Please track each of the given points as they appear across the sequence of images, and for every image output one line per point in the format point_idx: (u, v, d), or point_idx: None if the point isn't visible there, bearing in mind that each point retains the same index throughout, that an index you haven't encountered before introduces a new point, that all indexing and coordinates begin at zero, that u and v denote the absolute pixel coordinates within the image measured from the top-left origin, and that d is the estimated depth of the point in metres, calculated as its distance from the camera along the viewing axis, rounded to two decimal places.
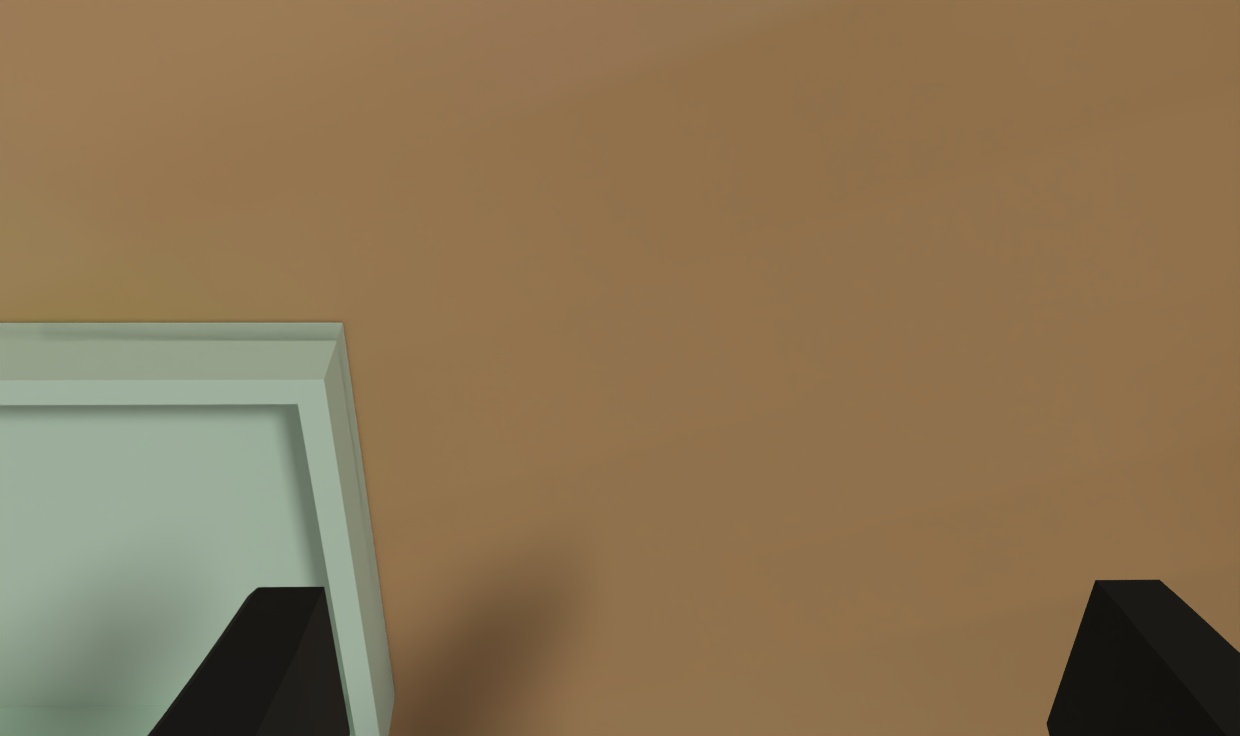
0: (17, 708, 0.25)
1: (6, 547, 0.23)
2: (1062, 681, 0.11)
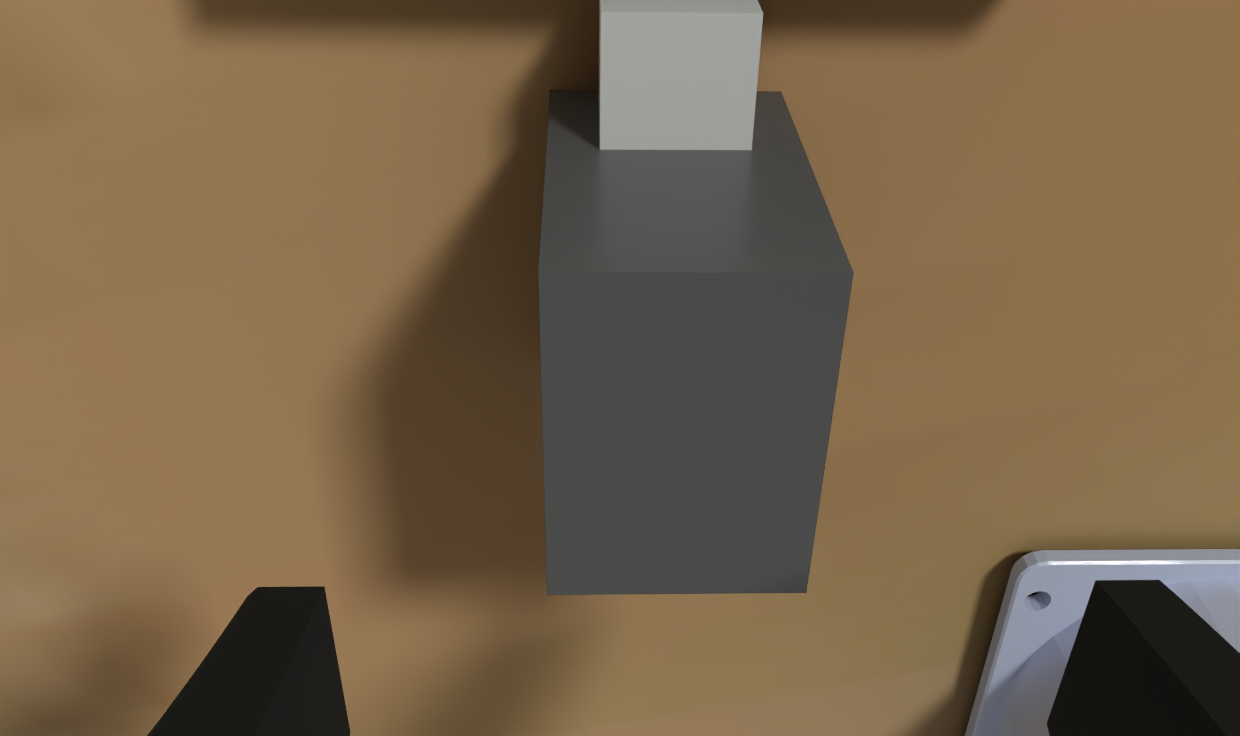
0: None
1: None
2: (1061, 682, 0.11)
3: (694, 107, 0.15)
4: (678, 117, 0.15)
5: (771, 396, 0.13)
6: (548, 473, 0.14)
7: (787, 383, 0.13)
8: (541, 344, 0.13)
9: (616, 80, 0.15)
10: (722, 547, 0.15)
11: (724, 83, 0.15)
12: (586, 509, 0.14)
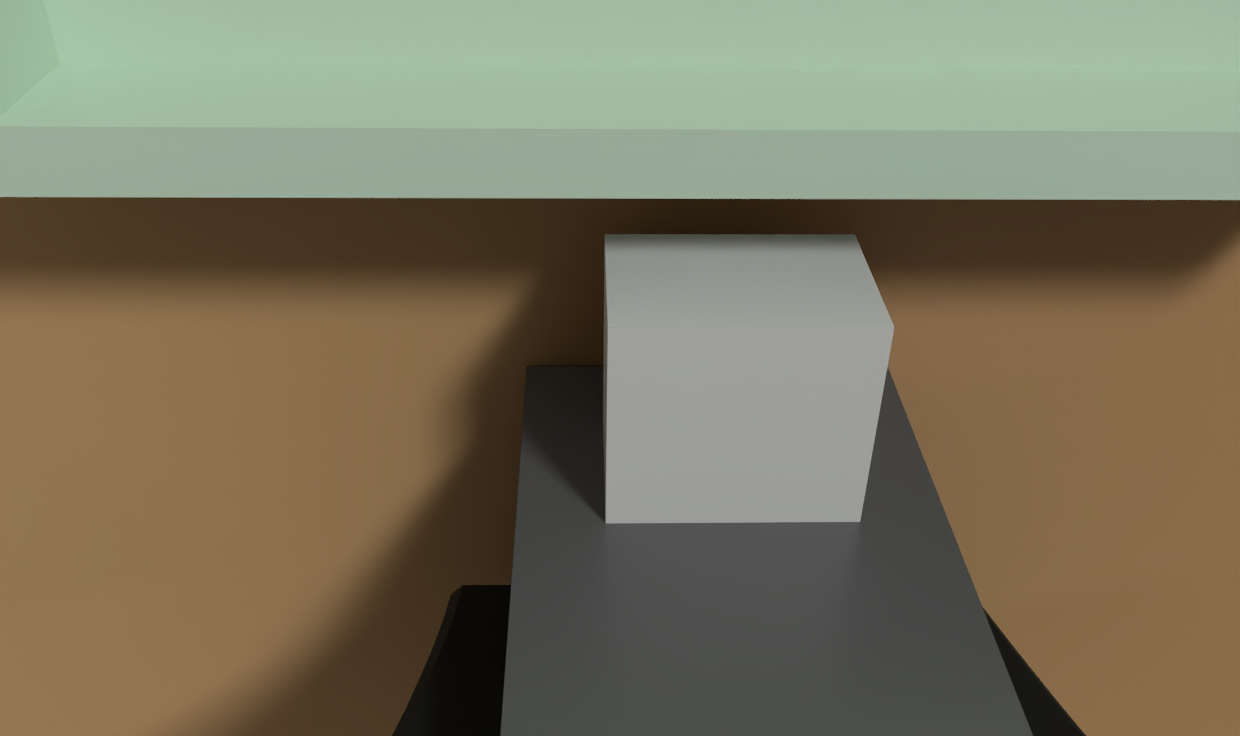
0: (392, 67, 0.08)
1: None
2: None
3: (766, 464, 0.09)
4: (739, 478, 0.09)
5: None
6: None
7: None
8: None
9: (632, 426, 0.08)
10: None
11: (819, 430, 0.09)
12: None
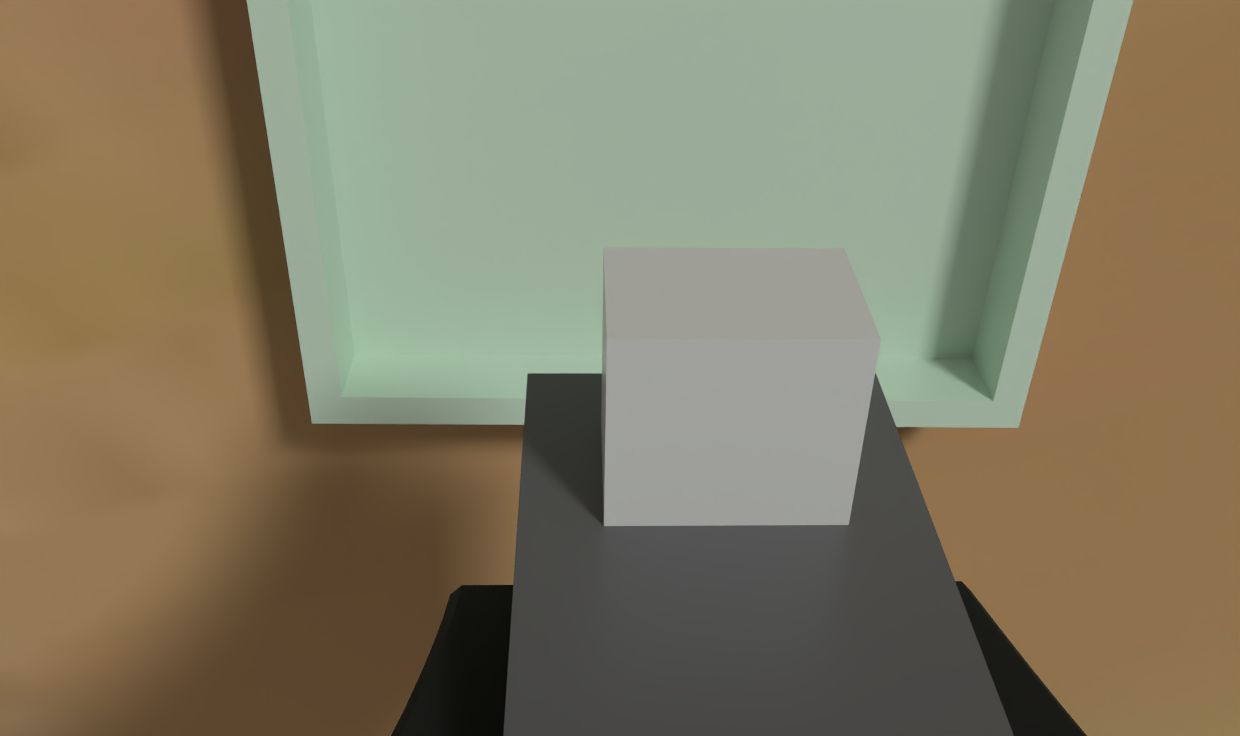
0: (506, 356, 0.18)
1: (570, 72, 0.16)
2: None
3: (759, 469, 0.09)
4: (732, 482, 0.09)
5: None
6: None
7: None
8: None
9: (629, 433, 0.09)
10: None
11: (810, 436, 0.09)
12: None
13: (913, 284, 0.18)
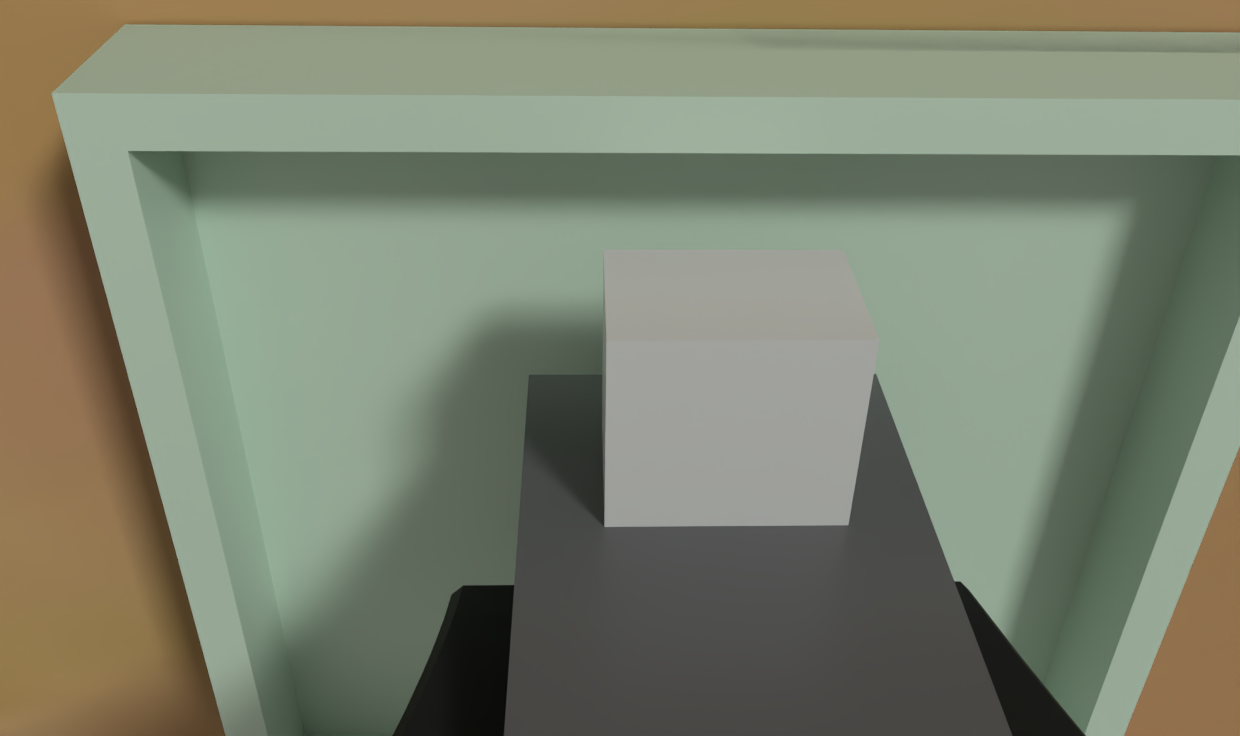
0: None
1: None
2: None
3: (758, 471, 0.09)
4: (732, 483, 0.09)
5: None
6: None
7: None
8: None
9: (630, 435, 0.09)
10: None
11: (809, 437, 0.09)
12: None
13: None
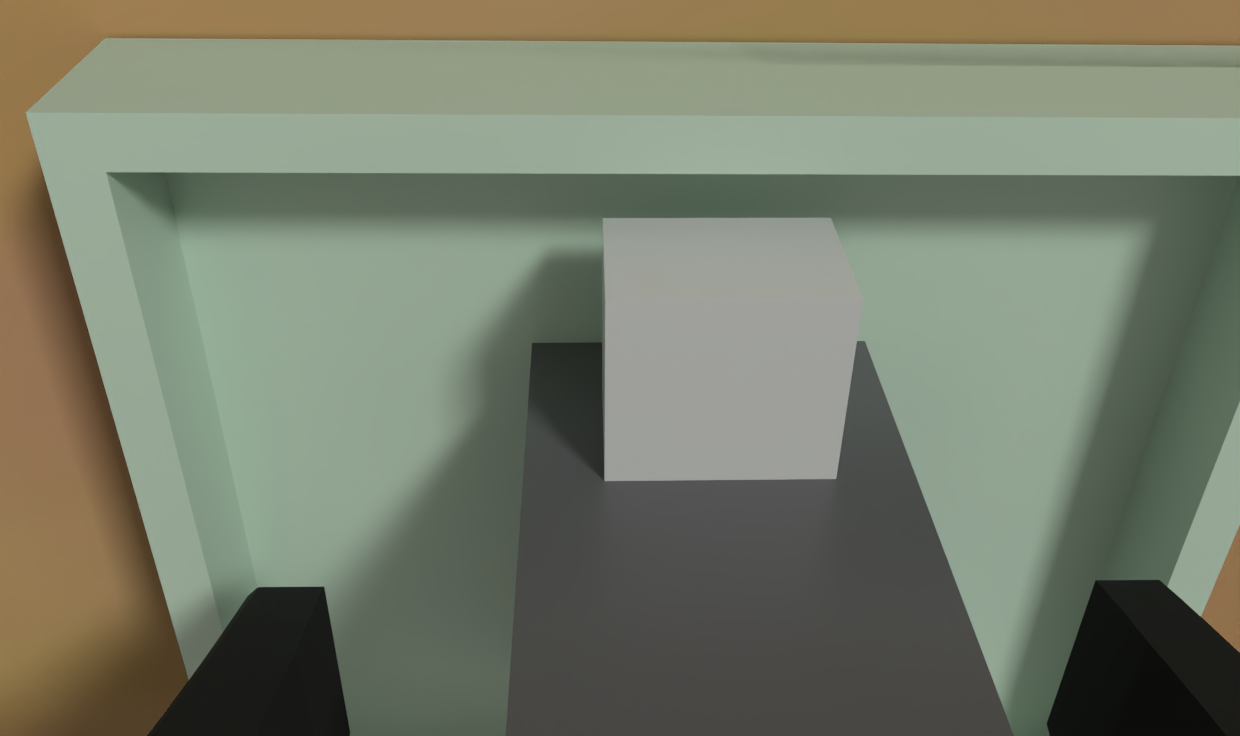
0: None
1: None
2: (1062, 681, 0.11)
3: (749, 426, 0.10)
4: (725, 438, 0.10)
5: None
6: None
7: None
8: None
9: (627, 391, 0.09)
10: None
11: (798, 393, 0.09)
12: None
13: None
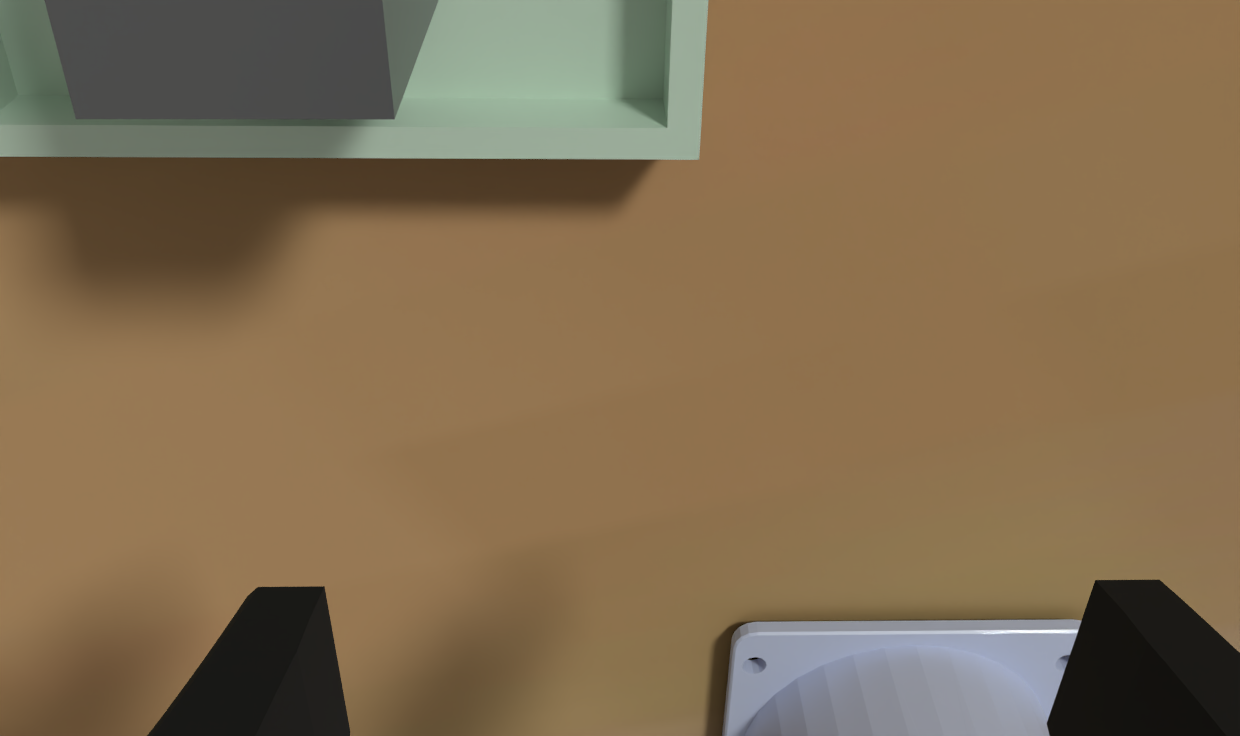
0: None
1: None
2: (1062, 682, 0.11)
3: None
4: None
5: None
6: None
7: None
8: None
9: None
10: (274, 46, 0.12)
11: None
12: None
13: (586, 10, 0.17)
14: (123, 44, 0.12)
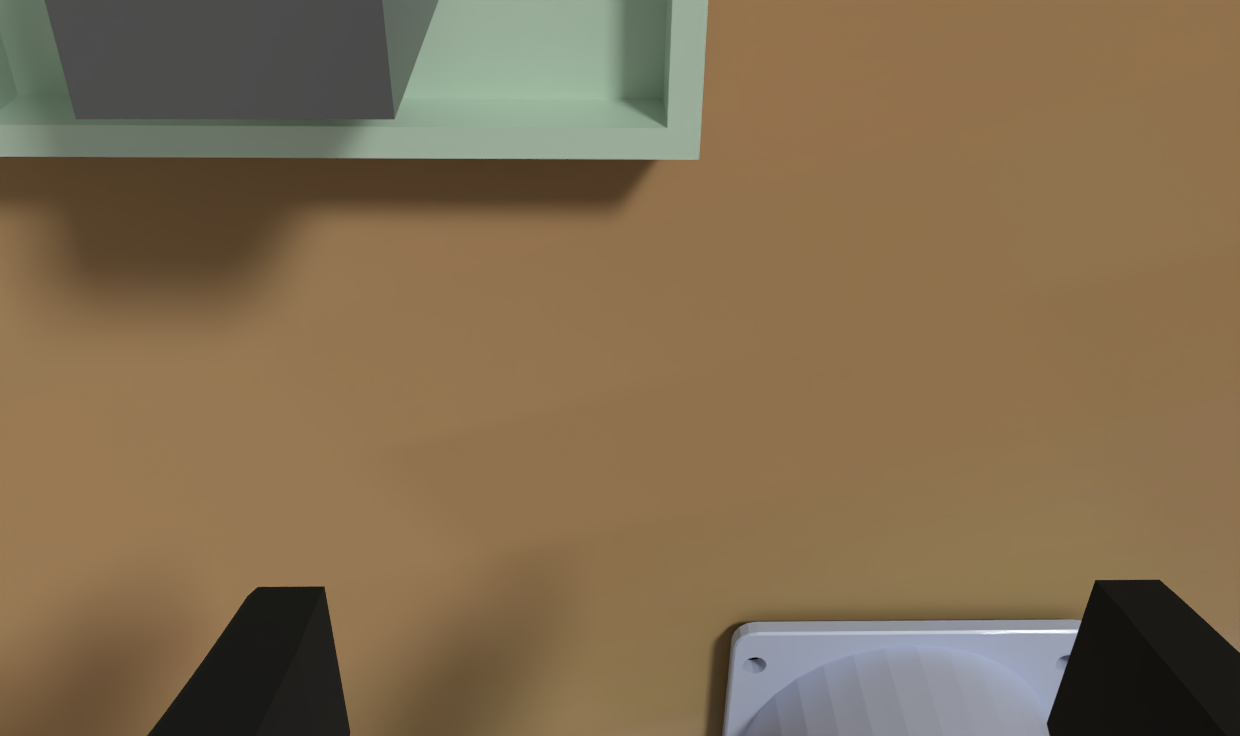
0: None
1: None
2: (1062, 682, 0.11)
3: None
4: None
5: None
6: None
7: None
8: None
9: None
10: (274, 46, 0.12)
11: None
12: None
13: (586, 10, 0.17)
14: (123, 44, 0.12)
